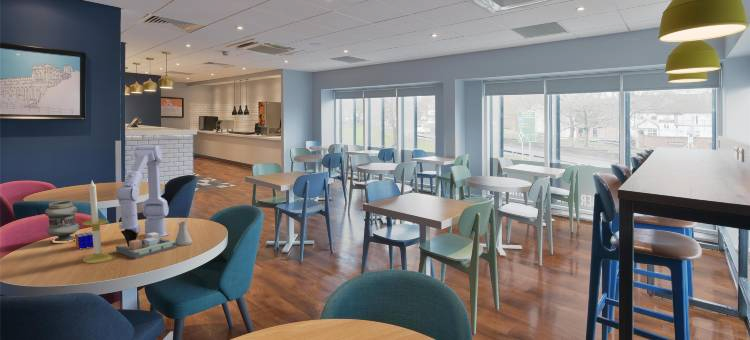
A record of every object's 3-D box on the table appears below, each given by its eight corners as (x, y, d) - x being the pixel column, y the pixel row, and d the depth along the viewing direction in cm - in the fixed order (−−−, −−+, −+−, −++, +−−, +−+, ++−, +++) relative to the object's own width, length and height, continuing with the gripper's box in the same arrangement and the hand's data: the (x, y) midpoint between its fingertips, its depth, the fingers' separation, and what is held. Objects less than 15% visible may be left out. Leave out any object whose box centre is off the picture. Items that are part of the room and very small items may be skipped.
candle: (90, 265, 156) (83, 182, 152) (78, 260, 161) (71, 179, 157) (117, 257, 165) (112, 178, 160) (105, 253, 170) (99, 176, 166)
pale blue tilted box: (144, 248, 172) (144, 239, 172) (152, 246, 175) (151, 237, 174) (149, 250, 170) (149, 241, 170) (157, 248, 173) (156, 239, 172)
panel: (116, 251, 172) (115, 244, 172) (156, 241, 186) (155, 234, 186) (135, 258, 163) (135, 251, 163) (175, 247, 178) (175, 240, 177)
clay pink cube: (129, 250, 170) (128, 241, 169) (137, 248, 172) (136, 239, 172) (134, 252, 167) (133, 242, 167) (142, 250, 170) (141, 241, 170)
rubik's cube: (76, 246, 178) (75, 234, 177) (91, 243, 182) (90, 231, 182) (79, 249, 174) (78, 236, 174) (94, 246, 178) (93, 234, 178)
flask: (185, 246, 179) (184, 224, 178) (171, 245, 181) (169, 223, 180) (195, 241, 186) (194, 220, 185) (181, 240, 188) (180, 219, 187)
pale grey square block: (147, 242, 180) (147, 233, 180) (154, 240, 183) (154, 232, 183) (152, 244, 178) (151, 235, 178) (159, 242, 181) (159, 233, 180)
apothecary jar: (41, 242, 183) (37, 203, 181) (70, 235, 194) (66, 198, 192) (58, 246, 178) (54, 206, 176) (86, 238, 189) (83, 201, 187)
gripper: (110, 214, 170) (112, 245, 172) (127, 219, 163) (130, 252, 164) (128, 211, 176) (130, 241, 178) (145, 215, 168) (147, 247, 170)
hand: (131, 246), depth 172 cm, fingers closed
